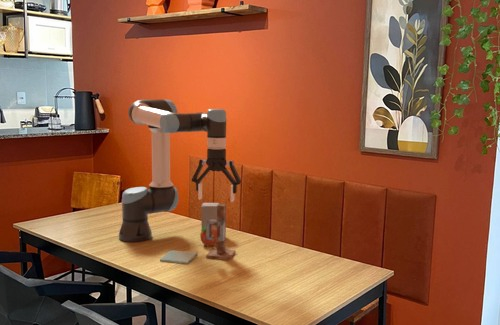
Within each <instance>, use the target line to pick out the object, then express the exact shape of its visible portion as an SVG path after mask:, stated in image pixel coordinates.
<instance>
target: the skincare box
mask: <svg viewBox="0 0 500 325" xmlns="http://www.w3.org/2000/svg"><path fill="white" fill-rule="evenodd" d="M219 204H220V203H219V202H202V204H201V205H200V218H201V219H200V222H201V229H202V228H203V227H206V225H207V220H208V219H215V220H217V205H219ZM212 225H213V224H212ZM216 229H217V228H216Z"/></svg>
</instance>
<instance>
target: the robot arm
mask: <svg viewBox="0 0 500 325" xmlns="http://www.w3.org/2000/svg"><path fill="white" fill-rule="evenodd" d="M127 116H128V118H129V120H130V121H131V122H132V123H134V124H136V125H139V126H143V125H144V126H145V125H147V127H148V130H150V132H151V179H152V180H151V182H150V183H149V184H148V188H147V187H145V186H136V187H130V188H127V189H125V190H124V191H123V192H122V195H121V211H122V212H121V214H122V216H121V217H122V224H121V225H120V229H119V231H118V232H119V233H118V239H119V240H120V241H122V242H127V243H139V242H145V241H148V240H150V239H151V238H152V237H153V234H152V233H153V232H152V230H151V226H150V224H149V220H148V219H149V217H148V216H149V215H152V214H158V213H167V212H171V211H174V210H175V209H176V207H177V205H178V203H179V191H178V189H177V188H176V187H175V186H174V183H173V182H172V181H171V134H174V133H175V134H176V133H186V132H187V133H194V132H197V133H198V132H206V135H207V136H206V137H207V138H206V141H207V142H206V146H207V151H206V159H204V158H201V159H200V160H199V162H198V166H197V167H196V168H197V169H196V170H195V172H194V174H193V176H192V177H191V182H192V183H193V182H194V183H195V191H196V192H198V195H197V196H198V200H202V199H203V182H202V181H203V179H204V178H205V177H206V176H207V175H208V174H209V173H210V172H221V173H222V174H224V175H225V176H224V177H226V179H227V180H228V181H229V182H230V183H231V185H230V203H233V202H234V201H235V194H237V191H238V185H241V184H242V179H241V177H240V175H239V173H238V171H237V169H236V167H235V162H234V160H232V159H231V160H227V149H226V147H227V111H226V110H225V109H223V108H221V109H220V108H208V109H207V113H206V112H200V111H199V112H189V113H188V112H187V113H181V112H180V113H178V108H177V106H176V103H174V102H173V101H172V100H171V99H161V98H160V99H159V98H158V99H138V100H136V101H134V102H132V103H131V104H130V105H129V107H128V110H127ZM205 165H207V168H205V170H204V171H203V173H202V174H200V173H201V171H202V169H203V167H204V166H205ZM227 166H228V167H229V169H230V171H231V172H230V171H229V170H228V168H227ZM231 173H232V174H231ZM199 175H200V176H199ZM232 175H233V176H232Z"/></svg>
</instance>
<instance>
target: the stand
mask: <svg viewBox="0 0 500 325" xmlns="http://www.w3.org/2000/svg"><path fill="white" fill-rule="evenodd" d="M226 217H227V205H226V204H223V203H222V204H221V203H219V205H217V220H225V240H224V241H218V237H219V236H220V225H216V224H213V225H212V226H211V230H215V229H216V228H217V243H216V247H213V248H212V249H211V250H210V251H209V252H207V254H206V257H205V258H206V259H211V258H212V259H213V260H224V261H230V260H231V259H232V257H233V256H234V255H235V254H236V249H227V248H226V240H227V239H226V236H227V235H226V231H227V230H226V229H227V228H226V226H227V223H226V222H227V221H226V219H227V218H226Z"/></svg>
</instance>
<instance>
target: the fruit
mask: <svg viewBox="0 0 500 325" xmlns="http://www.w3.org/2000/svg"><path fill="white" fill-rule="evenodd" d="M200 231H201V232H200V234H199V235H200V241H201V242H202V244H204V246H208V247H211V246H215V245H217V229H215V230H211V235H214V238H213V239H212V240H206V227H203V228H202V227H201V230H200Z"/></svg>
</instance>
